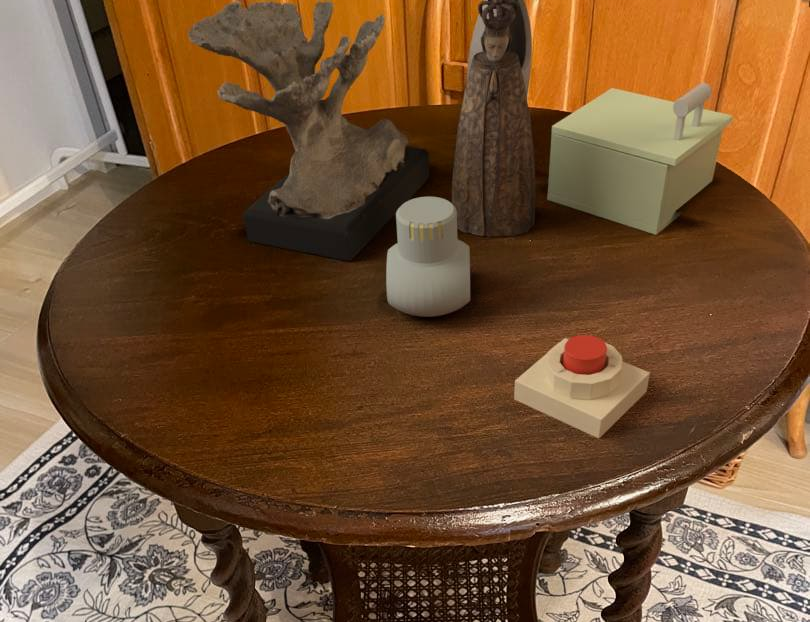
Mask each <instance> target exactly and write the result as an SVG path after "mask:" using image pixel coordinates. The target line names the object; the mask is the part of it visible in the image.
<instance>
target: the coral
mask: <svg viewBox="0 0 810 622" xmlns="http://www.w3.org/2000/svg"><path fill="white" fill-rule="evenodd" d="M314 6H315V7H314V8H313V12H312V19H313V24H312V29H313V30H312V34H311V35H310V37H311V39H309V41H308V38H307V37H306V36H305V33H304V30H303V27H302V26H303V25H302V19H303V18H302V16H301V14H300V12H298V10H297V7H298V6H297V5H296V4H294V3H290V2H283V3H281V2H276V1H273V0H272V1H271V0H269V1H264V2H263V1H258V2H257V1H255V2H252V3H250V4H249V5H248V7H247V8H246V7H244V8H243V2H242V1H240V0H238V1H233V2H230V3H228V4H226V6H224V7H223V8H222V9H221V10H220V11H219V12H216V13H215V14H214V15H211V16H209V17H208V16H207V17H203V19H202V20H198V21H197V22H194V23H193V26H191V27H189V31H188V40H189V41H190V43H192V44H194V45H197V46H198V47H200V48H202V49H204V51H205V50H206V51H208V52H212V53H215V54H217V55H220V56H225V57H232V58H235V59H238V60H239V61H241V62H243V63H245V64H246V65H247V66H249V67H250V68H252V69H253V70H255V72H257V73H258V74H260V75H262V76H263V77H264V78H265V79H266V80H267V82H268V83H269V84H270V86H271V88H272V89H273V91H274V94H273V97H271V98H270V99H268V98H266V97H265V96H263V95H262V94H260V93H258V92H256V91H255V90H254V91H251V90H246V89H243V87H241V86H240V84H237V83H231V82H228V81H226V82H223V83H222V85H221V86H220V87H219V89H218V90H217V91H216V92H217V95H218V98H219V99H220V100H222V101H224V102H226V103H230V104H233V105H235V106H237V107H239V108H242V109H244V110H246V111H251V112H255V113H257V114H259V115H262V116H266V117H267V118H272V119H274V120H276V121H278V122H279V123H282V124H283V125H284V126H285V129H286V131H287V133H288V134H289V136H290V139H291V141H292V146H293V148H294V154H293V155H292V156H291V159H290V165H289V173H288V174H286V175H285V176H284V177H283V178H282V179H280V180H279V181H278V182H277V183H276V184H274V186H272V187H271V188H270V189H269V190H268V191H267V192H266V193H264V194H263V195H262V196H261V197H259V199H258V200H256V201H255V202H254V203H253V204H252V205H250V206H249V207H248V208H247V209H246V210H245V211H244V212H243V214H242V219H243V222H244V226H245V230H246V234H247V239H248V241H249V242H251V243H257V244H261V245H266V246H270V247H275V248H280V249H285V250H291V251H295V252H300V253H301V252H302V253H306V254H309V255H317V256H321V257H326V258H331V259H335V260H340V261H344V262H351V261H352V260H353V259H354V258H355V257H356V256H357V255H358V254H359V253H360V252H361V251H362V249H364V248H365V247H366V246H367V244H368V243H370V242H371V240H372V239H373V238H374V237H375V236H376V235H377V234H378V233H379V232H380V231H381V230H382V229H383V228H384V227H385V226H386V224H387V223H389V221H390V220H391V219H392V218H393V217H394V216H396V212H397V210H398V209H399V208H400V207H401V206H402V204H404V203H405V202H407V201H409V200H411V198H412V197H413V196H414V195H416V193H417V192H418V191H419V190H420V188H421V187H422V186H423V185H425V183H426V182H427V181H428V180H429V178H430V153H429V150H427V149H425V148H423V147H417V146H410V145H409V144H410V141H409V138H408V137H407V136H406V135H405V134H404V133H403V132H402V131H400V130H399V129H398V128H397V127H396V125H395V124H394V123H393V122H392V120H390V119H389V118H388V119H387V118H383V119H381V120H379V121H377V122H376V123H375V125H373V126H371V127H370V128H369V129H365V128H363V127H360V126H358V125H355V124H353V123H351V122H348V120H347V119H346V117H344V116H343V115H342V109H343V104H344V100H345V98H346V96H347V93H348V92H349V91H350V89H351V87H352V86H353V84H354V83H355V81H356V80H357V79H358V78H359V76H360V75H361V73H362V72H363V71H364V69H365V67H366V64H367V61H368V54H369V52H370V51H371V50H372V49H373V48H374V46H375V45H376V42H377V40H378V37H380V35H381V33H382V30H383V29H384V26H385V22H386V19H385V15H384V14H380V15H379V16H376V17H375V19H374V21H373V20H366V21H364V22H363V23H362V24H361V25H360V26H359V29H358V31H357V35H356V36H355V39H354V42H353V44H352V45H351V37H350V36H346V35H343V36H341V37H340V40H339V43H338V45H337V48H335V50H334V54H333V55H332V56H328V57H325V59H324V58H322V56H323V53H324V51H325V47H326V42H325V35H326V32H327V29H328V28H329V25H330V22H331V19H332V16H333V13H334V2H333V1H329V0H327V1H326V0H323V1H322V2H321V1H320V0H318V1H317V2H315V4H314ZM350 45H351V47H350ZM348 50H349V53H347V52H348ZM320 60H321V61H320ZM319 62H320V63H319ZM318 63H319V68H318V69H317V71H316V65H317V64H318ZM336 69H337V71H338V77H337V78H336V80H335V82H334V83H333V84H332V87H331V88H330V92H329V95H328V96H327V97H326V98H324V97H325V95H326V93H327V90H328V88H329V85H330V80H331V77H332V74H333V73H334V71H335V70H336ZM323 98H324V99H323Z"/></svg>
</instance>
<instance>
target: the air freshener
mask: <svg viewBox="0 0 810 622" xmlns="http://www.w3.org/2000/svg"><path fill="white" fill-rule="evenodd" d="M395 220H396V234H397V235H396V237H397V238H396V239H397V243H395V244H394V245H392V246H391V247H390V248H389V249H388V250H387V253H386V268H385V269H386V273H385V274H386V276H385V277H386V279H385V280H386V282H385V283H386V285H385V286H386V299H387V303H388V305H390V306H391V307H392V308H393V309H395V310H397V311H399V312H402V313H404V314H407V315H411V316H417V317H423V318H427V317H428V318H429V317H431V318H432V317H439V316H444V315H448V314H450V313H453V312H456V311H458V310H460V309H462V308H463V307H464V306H466V305H467V304H468V303H470V301H471V257H470V256H471V255H470V253H471V252H470V250H471V249H470V245H468V244H467V243H465V242H464V241H462V240H460V239H459V238H458V228H457V211H456V208H455V206H454V205H453V204H452V202H451V201H449V200H447V199H446V198H444V197H443V198H442V197H437V196H420V197H415V198H412V199H409V200H408V201H407V202H405V203H404V204H402V206H401V207H400V208H399V209H398V210H397V212H396V214H395Z"/></svg>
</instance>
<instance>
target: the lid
mask: <svg viewBox="0 0 810 622" xmlns="http://www.w3.org/2000/svg"><path fill="white" fill-rule="evenodd" d="M712 90H713V89H712V87H711V85H710V84H708V83H707V82H701V83H699V84H698V85H696V86H695V87H694V88H692V89H690V90H689V91H688V92H686V93H685V94H683V95H682V96H681V97H679V98H677V99H675V101H671V100H666V99H662V98H658V97H653V96H649V95H644V94H640V93H636V92H631V91H627V90H623V89H619V88H614V87H611V88H610V89H608V90H606V91H605V92H604V93H602V94H600V95H598V96H597V97H596V98H594V99H592V100H591V101H589V102H588V103H586V104H585V105H583V106H581V107H580V108H578V109H576V110H575V111H573V112H571V114H569V115H567V116H565V117H564V118H563V119H560V120H559V121H557V122H556V123H554V124H552V125H551V134H552V133H553V134H557V135H561V136H565V137H568V138H572V139H576V140H580V141H583V142H587V143H591V144H594V145H598V146H602V147H606V148H609V149H613V150H617V151H620V152H624V153H628V154H632V155H635V156H639V157H643V158H646V159H650V160H654V161H658V162H661V163H665V164H669V165H673V166H676V165H677V164H678V163H680V162H681V161H682V160H684V159H685V158H686V157H688V156H689V155H690V154H691V153H693V152H694V151H695V150H697V149H698V148H699V147H701V146H702V145H703V144H705V143H706V142H707V141H708V140H710V139H711V138H712V137H714V136H715V135H716V134H718V133H719V132H720V131H721V130H723V131H724V130H725V129H726V128H727V127H728V126H729V125H731V124H732V123H733V118H734V116H733V115H732V114H728V113H723V112H719V111H716V110H715V111H714V110H710V109H706V108H705V107H704V106H705V103H706V102H707V101H709V99H710V98H711V97H712V93H713V92H712Z"/></svg>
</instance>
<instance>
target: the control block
mask: <svg viewBox="0 0 810 622" xmlns="http://www.w3.org/2000/svg"><path fill="white" fill-rule="evenodd" d="M569 339H570V338H567V337H565V338H563V339H562V340H561V341H559V342H557V343H556V344H555V345H554V346H553V347H552V348H550V349H549V350H548V351H547V352H546V353H545V355H543V356H542V357H541V358H540V359H538V360H536V362H535V363H534V364H533V365H531V366H530V367H529V368H528V369H527V370H525V371H524V372H523V373H522V374H521V375H520V376H519V377H517V378H516V379H515V380H514V393H513V394H514V396H513V400H515V401H516V402H519V403H521V404H523V405H525V406H528V407H529V408H532V409H534V410H536V411H539V412H540V413H543V414H545V415H547V416H549V417H551V418H554V419H555V420H558V421H560V422H562V423H563V424H566V425H569V426H570V427H573V428H575V429H577V430H579V431H581V432H583V433H586V434H588V435H590V436H592V437H595V438H597V439H600V438H601V437H602V436H603V435H604V434H605V433H606V432H608V430H609V429H610V428H611V427H613V425H614V424H615V423H617V422H618V420H620V418H622V417H623V416H624V415H625V414H626V413H627V412H628V411H629V410H630V409H631V408H632V407H633V406H634V405H635V404H636V403H637V402H638V401H639V400H640V399H641V398H642V397H643V396H644V395H645V394H646V393H647V391H648V385H649V380H650V376H651V375H650V374H651V372H650V371H647V370H645V369H642V368H640V367H638V366H635V365H633V364H630V363H628V362H625V361H623V355H622V354H621V353H620V352H619V351H618V350H617V349H616V347H614V345H611V344H609V343H607V342H605V344H606V346H607V352H606V359H605V366H604V368H603V369H602V370H601V371H600V372H599V373H595V374H591V375H582V374H575V373H573V372H570V371H568V370H567V369H566V368H565V367H564V364H563V358H564V347H565V344H566V342H567V341H568V340H569Z"/></svg>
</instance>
